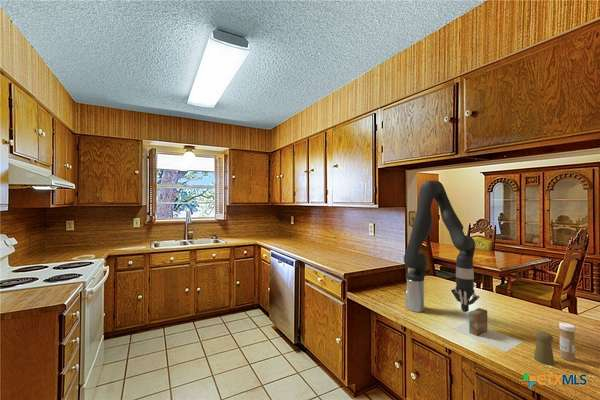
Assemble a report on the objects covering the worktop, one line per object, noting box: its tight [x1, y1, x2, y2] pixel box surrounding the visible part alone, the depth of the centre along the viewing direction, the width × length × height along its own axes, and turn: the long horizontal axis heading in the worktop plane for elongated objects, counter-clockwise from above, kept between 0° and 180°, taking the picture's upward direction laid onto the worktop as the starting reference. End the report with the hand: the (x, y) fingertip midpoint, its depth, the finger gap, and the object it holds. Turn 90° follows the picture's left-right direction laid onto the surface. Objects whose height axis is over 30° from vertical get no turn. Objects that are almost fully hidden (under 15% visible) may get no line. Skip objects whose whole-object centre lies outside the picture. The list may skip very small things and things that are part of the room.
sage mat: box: [451, 321, 524, 353], centre depth 125 cm, size 23×16×1 cm
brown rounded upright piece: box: [533, 330, 556, 366], centre depth 105 cm, size 6×6×11 cm
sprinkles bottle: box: [558, 322, 576, 362], centre depth 107 cm, size 5×5×14 cm
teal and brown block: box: [468, 307, 488, 336], centre depth 127 cm, size 4×9×10 cm, turn 120°
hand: (465, 311), depth 133 cm, fingers closed
